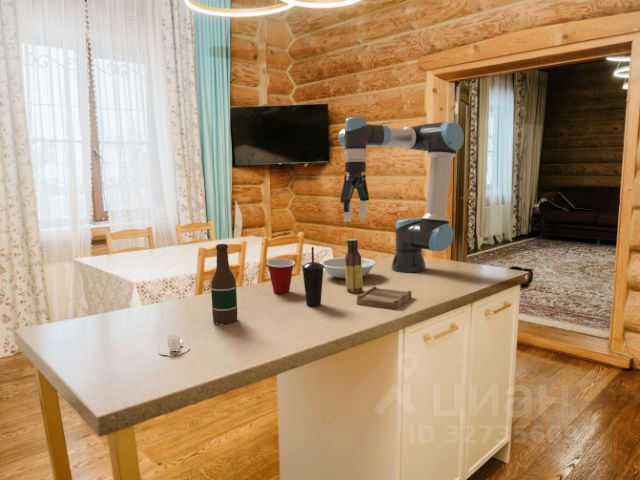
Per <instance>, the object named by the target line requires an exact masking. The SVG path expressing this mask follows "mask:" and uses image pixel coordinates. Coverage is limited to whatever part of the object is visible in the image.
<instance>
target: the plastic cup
mask: <svg viewBox="0 0 640 480" xmlns="http://www.w3.org/2000/svg"><path fill="white" fill-rule="evenodd" d="M266 265H267V268H268V271H269V276H270V282H271V286H272V291H273V293H274V294H276V295H286V294H289V292H290V289H291V282H292V277H293V276H292V275H293V270H294V266H295V265H296V261H294V260H292V259H287V258H273V259H269V260H267V261H266Z"/></svg>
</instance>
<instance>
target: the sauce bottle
mask: <svg viewBox="0 0 640 480" xmlns="http://www.w3.org/2000/svg"><path fill="white" fill-rule="evenodd" d="M358 243H359V239H358V238H348V239H347V240H346V244H347V253H346V254H345V256H344V257H345V270H346V279H345V285H346V287H345V288H346V292H348V293H350V294H351V293H353V294H358V293H362V292H363V286H364V285H363V276H362V263H361V258H362V255H361V254H360V252H359V248H358V247H359V246H358V245H359V244H358Z"/></svg>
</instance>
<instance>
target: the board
mask: <svg viewBox="0 0 640 480" xmlns="http://www.w3.org/2000/svg"><path fill="white" fill-rule="evenodd" d="M411 298H412V290H407V291H404V290H397V289H388V288H378V287H377V286H373V287H371V288H369V289H368V290H366V291H365V292H363V293H361V294H359V295H357V298H356V305H360V306H361V305H362V306H368V307H375V308H382V309H390V310H397V309H399V308H400V307H401V306H402V305H404V304H405V303H406V302H407V301H409V300H410V299H411Z"/></svg>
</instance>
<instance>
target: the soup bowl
mask: <svg viewBox="0 0 640 480" xmlns="http://www.w3.org/2000/svg"><path fill="white" fill-rule="evenodd" d="M319 263H320V264H323V265H324V268H323V269H324V270H325V271H326V272H327V274H329V275H330V276H332V277H334V278H337V279H344V280H346V270H345V256H342V257H341V256H339V257H332V258H327V259H323V260H320V261H319ZM361 263H362V277H364V276H366V275H367V274H369V273H370V272H371V270H372V269H373V267H374V266H376V265H377V261H376V260H373V259H371V258H366V257H361Z"/></svg>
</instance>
